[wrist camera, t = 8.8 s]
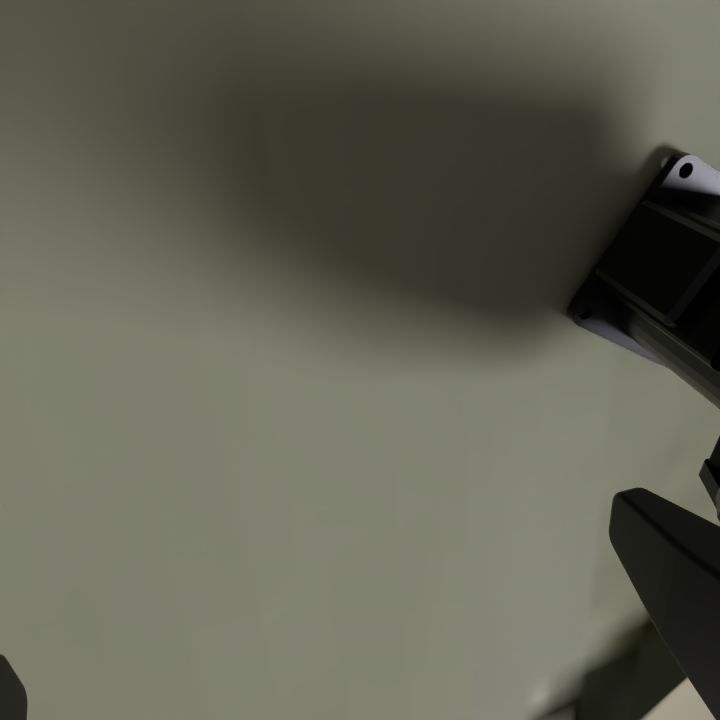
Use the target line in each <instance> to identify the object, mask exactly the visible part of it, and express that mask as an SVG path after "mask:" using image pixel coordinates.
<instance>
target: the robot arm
mask: <svg viewBox="0 0 720 720" xmlns="http://www.w3.org/2000/svg"><path fill="white" fill-rule="evenodd" d="M684 164H685V168H684V171H683V172H682V173H681V174H679V170H680V168H681V166H682V165H684ZM584 307H586V310H585V311H584V312H583V313H582V314H580V315H579V313H580V311H581V310H582V309H583V308H584ZM567 315H568V317H569V318H570V319H571V320H572V321H573V322H574V323H576V324H577V325H578V326H581V327H583V328H585V329H587V330H589V331H591V332H593V333H595V334H597V335H600V336H602V337H604V338H606V339H608V340H610V341H612V342H614V343H616V344H619V345H621V346H623V347H625V348H627V349H629V350H631V351H633V352H635V353H638V354H640V355H642V356H644V357H646V358H648V359H650V360H652V361H654V362H657V363H659V364H661V365H663V366H665V367H667V368H669V369H670V370H672V371H673V372H674V373H675V374H677V375H678V376H679V377H680V378H682V379H683V380H684V381H685V382H687V383H688V384H689V385H690V386H692V387H693V388H694V389H695V390H697V391H698V392H699V393H700V394H702V395H703V396H704V397H705V398H707V399H708V400H709V401H710V402H712V403H713V404H714V405H715V406H716V407H718V408H719V409H720V173H719V172H718V171H716V170H715V169H713V168H712V167H711V166H709V165H708V164H706V163H705V162H703V161H702V160H701V159H699V158H698V157H696V156H693V155H691V154H688V153H685V152H680V153H677V154H675V155H673V156H672V157H671V158H670V159H669V160H668V162H667V163H666V165H665V166H664V168H663V169H662V171H661V172H660V173H659V175H658V176H657V178H656V179H655V181H654V182H653V184H652V185H651V186H650V188H649V189H648V191H647V192H646V194H645V195H644V197H643V198H642V199H641V201H640V202H639V204H638V205H637V207H636V208H635V210H634V211H633V213H632V214H631V215H630V217H629V218H628V220H627V221H626V223H625V224H624V226H623V227H622V228H621V230H620V231H619V233H618V234H617V236H616V237H615V239H614V240H613V241H612V243H611V244H610V246H609V247H608V249H607V250H606V252H605V253H604V255H603V256H602V257H601V259H600V260H599V262H598V263H597V265H596V266H595V268H594V269H593V270H592V272H591V273H590V275H589V276H588V278H587V279H586V281H585V282H584V284H583V285H582V286H581V288H580V289H579V291H578V292H577V294H576V295H575V297H574V298H573V299H572V301H571V302H570V304H569V306H568V308H567ZM699 476H700V478H701V480H702V482H703V484H704V486H705V488H706V490H707V492H708V493H709V495H710V497H711V499H712V501H713V503H714V505H715V507H716V509H717V517H718V519H719V521H720V436H719V438H718V440H717V443H716V445H715V447H714V449H713V452H712V454H711V456H710V458H709V459H706V460H705V461H704V463H703V466H702V468H701V470H700V472H699ZM609 536H610V540H611V543H612V546H613V548H614V550H615V551H616V553H617V555H618V557H619V559H620V561H621V563H622V565H623V567H624V569H625V570H626V572H627V574H628V576H629V578H630V580H631V582H632V584H633V586H634V587H635V589H636V591H637V593H638V595H639V597H640V599H641V601H642V603H643V605H644V606H645V608H646V610H647V612H648V614H649V616H650V618H651V620H652V622H653V623H654V625H655V627H656V629H657V630H658V632H659V634H660V636H661V637H662V639H663V640H664V642H665V644H666V645H667V647H668V648H669V650H670V651H671V653H672V654H673V656H674V657H675V659H676V660H677V662H678V663H679V665H680V666H681V668H682V669H683V671H684V672H685V674H686V675H687V677H688V678H689V680H690V681H691V683H692V684H693V686H694V688H695V689H696V691H697V692H698V694H699V695H700V696H701V698H702V700H703V701H704V702H705V704H706V705H707V707H708V708H709V710H710V712H711V713H712V715H713V716H714V718H715V719H716V720H720V527H719V526H717V525H715V524H713V523H712V522H710V521H708V520H706V519H704V518H702V517H700V516H698V515H696V514H694V513H692V512H690V511H688V510H686V509H684V508H682V507H680V506H678V505H676V504H674V503H672V502H670V501H668V500H666V499H664V498H662V497H660V496H658V495H656V494H654V493H652V492H650V491H648V490H646V489H644V488H633V489H629V490H625V491H621V492H618V493H616V494H615V496H614V497H613V502H612V509H611V517H610V525H609ZM0 720H27V695H26V691H25V688H24V686H23V684H22V683H21V681H20V679H19V678H18V676H17V675H16V673H15V672H14V670H13V668H12V667H11V665H10V664H9V662H8V661H7V659H6V658H5V657H4V656H3V655H1V654H0Z"/></svg>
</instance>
